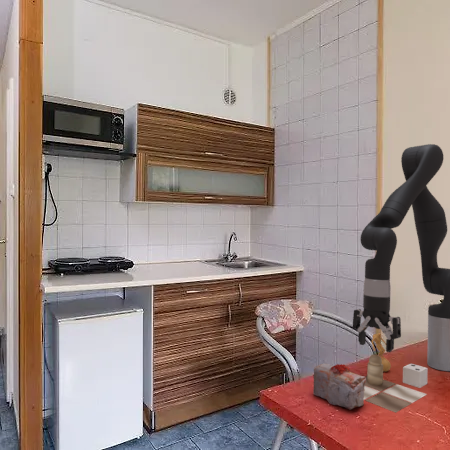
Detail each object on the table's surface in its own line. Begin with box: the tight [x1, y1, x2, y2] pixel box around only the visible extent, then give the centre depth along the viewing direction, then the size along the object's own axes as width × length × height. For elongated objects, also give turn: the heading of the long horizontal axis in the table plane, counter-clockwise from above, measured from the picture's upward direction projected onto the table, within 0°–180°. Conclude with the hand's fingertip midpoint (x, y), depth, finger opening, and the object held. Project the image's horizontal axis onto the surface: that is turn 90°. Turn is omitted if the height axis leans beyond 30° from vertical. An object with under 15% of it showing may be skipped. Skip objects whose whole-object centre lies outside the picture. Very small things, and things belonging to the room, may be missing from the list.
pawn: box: [366, 354, 384, 386], centre depth 118 cm, size 4×4×8 cm
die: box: [402, 363, 429, 389], centre depth 119 cm, size 5×5×5 cm
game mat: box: [363, 375, 428, 414], centre depth 112 cm, size 18×18×1 cm
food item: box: [312, 363, 366, 410], centre depth 106 cm, size 14×8×10 cm, turn 41°
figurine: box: [371, 332, 392, 373], centre depth 129 cm, size 8×6×12 cm
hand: (375, 347), depth 118 cm, fingers open, 8 cm apart
